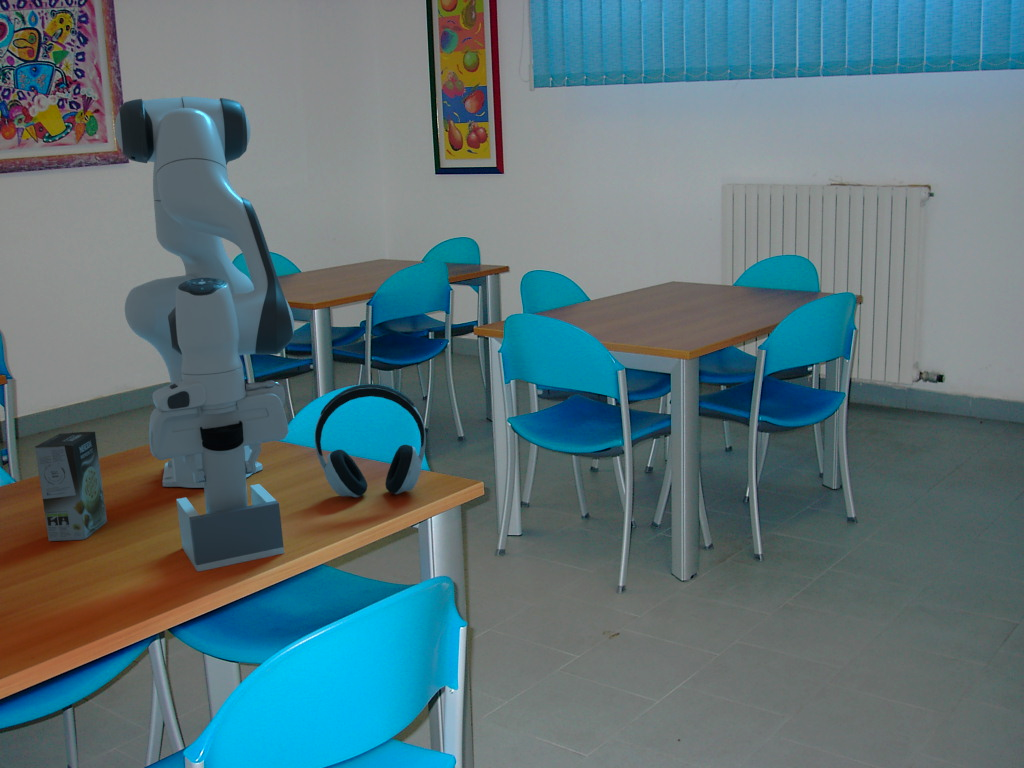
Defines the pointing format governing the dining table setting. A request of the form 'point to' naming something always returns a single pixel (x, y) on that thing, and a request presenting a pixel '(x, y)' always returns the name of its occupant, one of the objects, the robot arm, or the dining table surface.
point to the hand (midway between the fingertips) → (225, 477)
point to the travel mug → (224, 468)
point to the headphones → (342, 466)
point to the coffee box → (71, 486)
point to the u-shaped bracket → (231, 532)
